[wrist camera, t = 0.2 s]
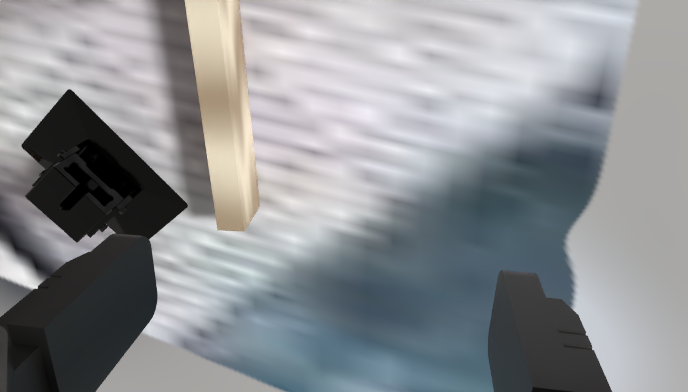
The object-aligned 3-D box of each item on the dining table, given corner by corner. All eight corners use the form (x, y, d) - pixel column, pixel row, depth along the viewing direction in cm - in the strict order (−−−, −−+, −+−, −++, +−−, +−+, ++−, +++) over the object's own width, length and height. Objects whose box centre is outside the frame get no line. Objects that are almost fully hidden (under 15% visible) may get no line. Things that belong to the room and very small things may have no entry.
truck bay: (-125, -69, 28) (-195, -70, 24) (230, -81, 25) (202, -83, 22) (-30, 194, 34) (-76, 220, 31) (259, 206, 31) (241, 235, 28)
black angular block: (221, 211, 33) (192, 252, 29) (149, 271, 36) (114, 315, 32) (61, 55, 30) (2, 75, 26) (-4, 133, 33) (-66, 163, 28)
